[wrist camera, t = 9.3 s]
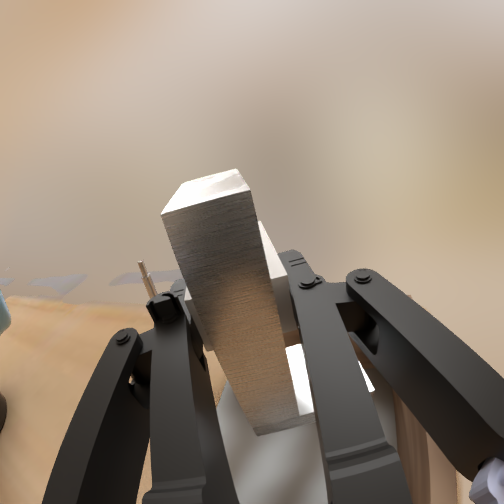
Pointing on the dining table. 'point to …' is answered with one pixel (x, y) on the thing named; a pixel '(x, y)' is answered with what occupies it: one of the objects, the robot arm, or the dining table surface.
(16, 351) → the dining table surface
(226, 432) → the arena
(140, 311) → the dining table surface
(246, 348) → the bracket
